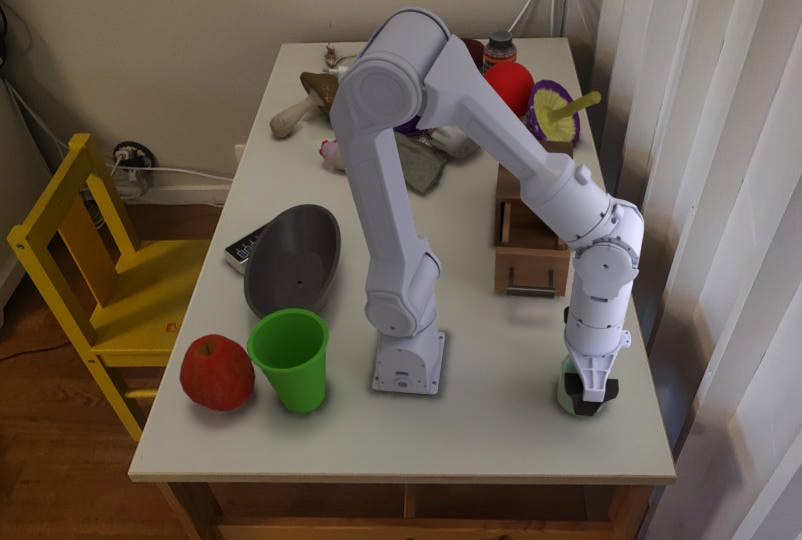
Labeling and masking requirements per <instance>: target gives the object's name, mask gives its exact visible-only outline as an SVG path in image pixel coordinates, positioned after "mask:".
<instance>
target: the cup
mask: <svg viewBox="0 0 802 540" xmlns="http://www.w3.org/2000/svg"><path fill="white" fill-rule="evenodd" d="M329 341H330V331H329V328H328V325H327V323H326V321H324V319H323V318H322V317H321V316H319V315H318V314H317V315H316V314H315V313H313V312H311V311H308V310H305V309H297V308H295V309H285V310H280V311H277V312H274V313H272V314H270V315H268V316H266V317H265V318H263V319H262V320H259V322H257V323H256V324H255V325H254V327H253V328H252V330H251V331H250V333H249V336H248V339H247V342H246V353H247V354H248V356H249V358H250V359H251V361H252V364H253V365H255V366H256V367H257V368H259V369H260V370H261V373H262V374H263V375H264V376H265V378H266V379H267V381H268V382H269V384H270V385H271V387H272V389H273V390H274V391H275V393H276V395H277V396H278V398H279V399H280V400H281V403H283V405H284V407H285V408H287V409H288V410H290V411H291V412H294V413H298V414H305V413H310V412H312V411H314V410H316V409H317V408H318V407H319V406H320V405H322V402H323V401H324V400H325V397H326V392H327V391H326V390H327V389H326V385H327V348H328V345H329Z"/></svg>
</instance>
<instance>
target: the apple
mask: <svg viewBox="0 0 802 540" xmlns="http://www.w3.org/2000/svg"><path fill="white" fill-rule="evenodd" d="M179 382H180V385H181V388H182V391H183V392H184V394H185V395H186V396H187V397H188V398H189V399H190V400H191V402H192V403H195V404H197V405H199V406H201V407H204V408H206V409H208V410H211V411H215V412H216V411H217V412H231V411H235V410H237V409H239V408H241V407H242V406H244V404H246V402H247V401H248V400H250V398H251V397H252V395H253V392H254V389H255V383H256V373H255V367H254V363H253V362H252V360H251V359H250V358H249V355H248V352H247V350H245V349H244V347H243V346H242V345H241V344H240V343H239V342H236V341H235V340H233V339H231V338H229V337H226V336H225V335H221V334H218V333H217V334H216V333H209V334H207V335H203V336H200V337H199V338H197V339H195V340H193V341H192V342H191V343H190V345H189V346H188V348H187V349H186V351H185V352H184V356H183V359H182V362H181V366H180V371H179Z"/></svg>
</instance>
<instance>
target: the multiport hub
mask: <svg viewBox="0 0 802 540" xmlns="http://www.w3.org/2000/svg"><path fill="white" fill-rule="evenodd" d="M272 220H273V219H271V220H270V221H268V222H266V223H265V224H264V223H263V225H261V226H260V227H257V228H256V229H254V230H253V231H251V232H249V233H248V234H246V235H243V237H241V238H239V239H237V240H236V241H234V242H233V243H231V244H229V245H227V246H226V247H224V248H223V254H224V256H225V259H226V262H227V263H228V264H229V265H231V267H233V268H234V269H235V270H236V271H237V272H239V274H241V275H243V276H244V273H245V268H246V264H247V261H248V257H249V255H250V252H251V250H252V248H253V246H254V244H255V242H256V240H257V238H258V237H259V235H260V234H261V232H262V231H263V229H264V228H265V227H266V226H267V225H268V224H269V223H270V222H271V221H272Z"/></svg>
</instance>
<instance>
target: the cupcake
mask: <svg viewBox="0 0 802 540" xmlns="http://www.w3.org/2000/svg"><path fill="white" fill-rule="evenodd" d="M428 132H429V135H430V136H429V135H428V136H429V137H430V138H431V141H430V145H431V146H434V149H438V150H440V151H444V152H445V153H447V154H448V155H450V156H452V157H453V158H455V159H459V160H462V159H464V158H466V157H468V156H469V155H471V154H472V153H474V152H475V150H476V149H477V148H478V147H479V145H478V144H477V143H476V142H474V141H473V140H472V139H471V138H470V137H469V136H467V135H466V134H465V133H464V132H463V131H461V130H460V129H459V128H458V127H457V126H454V125H450V126H443V127H436V128H429V129H428Z"/></svg>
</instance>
